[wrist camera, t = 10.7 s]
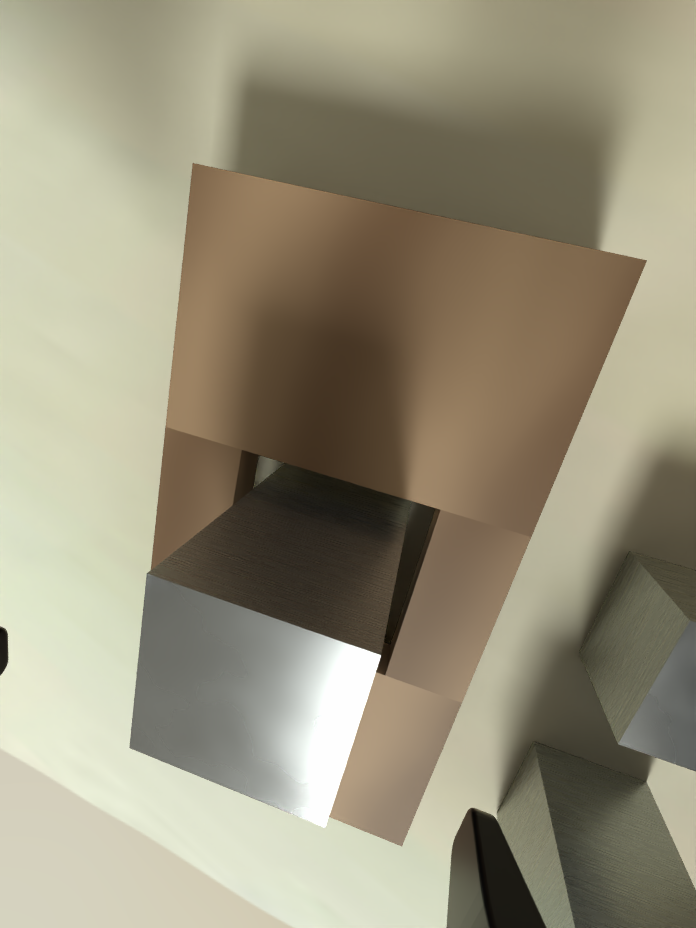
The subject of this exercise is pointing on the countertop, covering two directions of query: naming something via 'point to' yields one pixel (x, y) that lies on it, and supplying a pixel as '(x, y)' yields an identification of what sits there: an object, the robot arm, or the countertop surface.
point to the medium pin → (594, 846)
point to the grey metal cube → (648, 659)
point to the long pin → (270, 639)
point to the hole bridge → (386, 413)
